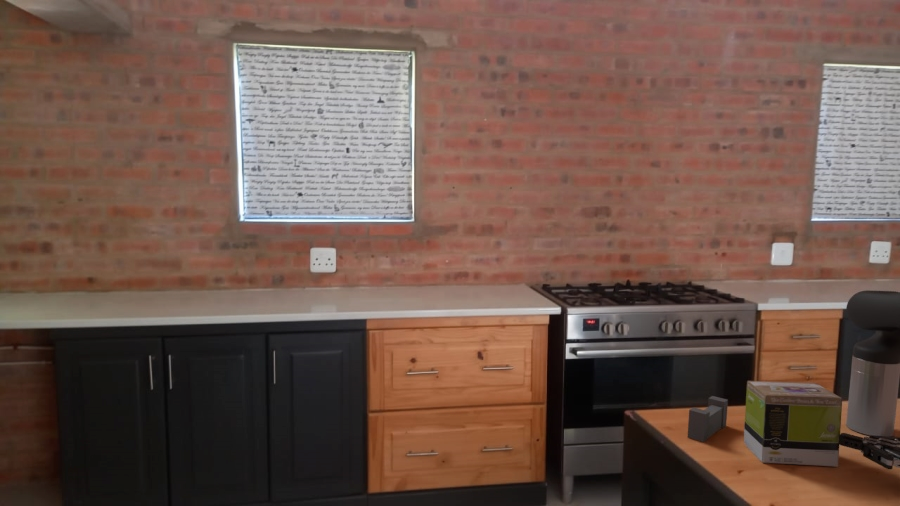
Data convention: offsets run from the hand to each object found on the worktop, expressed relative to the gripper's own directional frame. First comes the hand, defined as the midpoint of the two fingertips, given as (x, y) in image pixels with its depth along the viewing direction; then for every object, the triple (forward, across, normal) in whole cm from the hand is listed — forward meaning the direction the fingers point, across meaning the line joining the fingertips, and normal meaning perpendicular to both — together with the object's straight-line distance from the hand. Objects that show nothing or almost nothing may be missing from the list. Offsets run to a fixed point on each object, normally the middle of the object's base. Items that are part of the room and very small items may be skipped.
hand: (839, 438), depth 118 cm
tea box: (+9, 0, +7) cm, 11 cm away
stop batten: (+25, 0, +6) cm, 26 cm away
